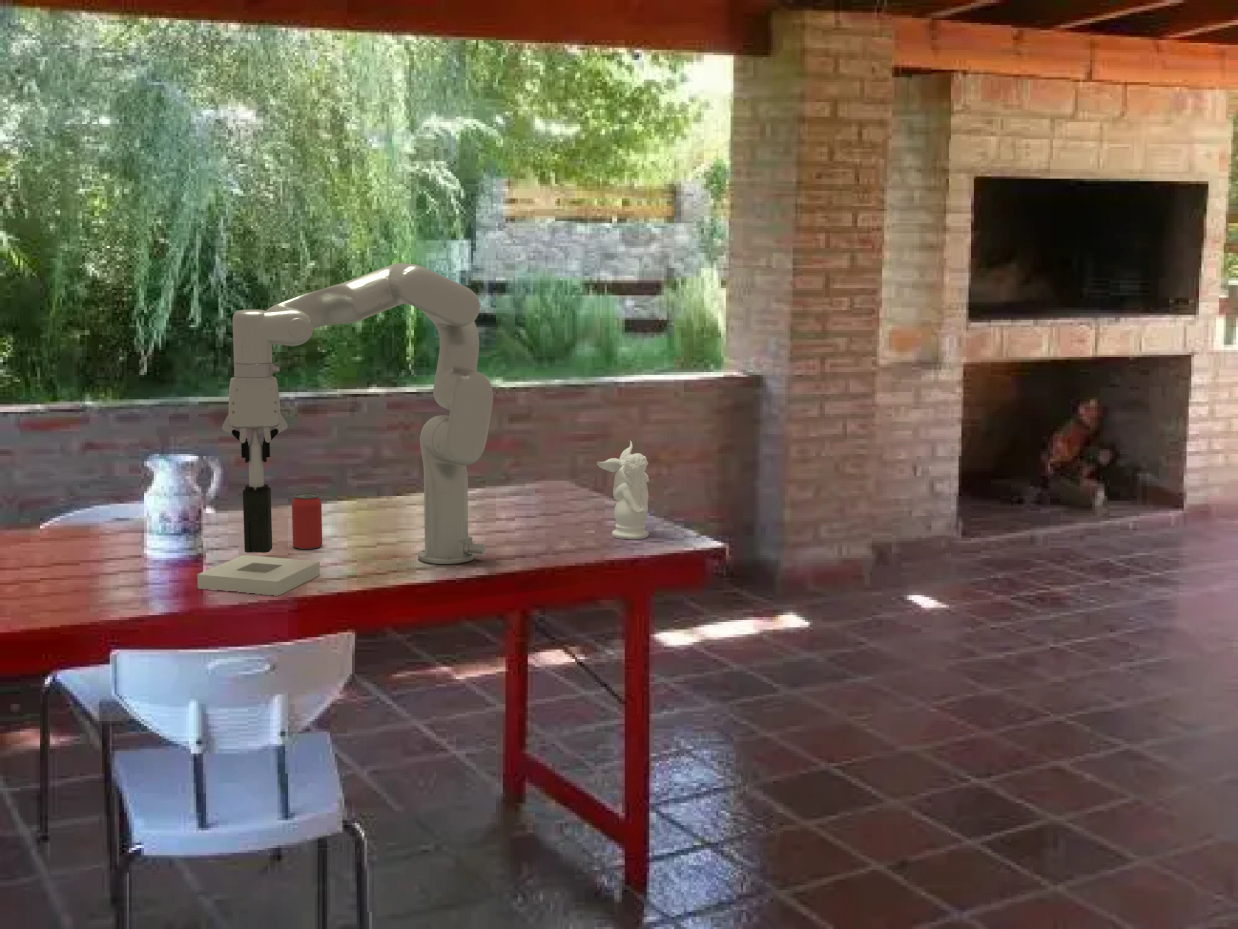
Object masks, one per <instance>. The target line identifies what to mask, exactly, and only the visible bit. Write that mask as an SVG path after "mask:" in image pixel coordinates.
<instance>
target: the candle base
mask: <svg viewBox="0 0 1238 929" xmlns="http://www.w3.org/2000/svg"><path fill="white" fill-rule="evenodd" d="M320 564H321V563H320V561H316V560H308V559H293V558H281V557H272V556H262V555H261V556H259V555H250V554H249V555H248V554H247V555H246V554H241V555H240V556H238V557H235V558H233V559H231V560H228V561H226V562H223V563H221V564H219V565H216V566H214V567H211V568H208V569H206V570H205V571H202V572H200V573H197V574H196V576H197V577H196V578H197V589H198V590H206V589H216V590H215V591H217V590H233V591H240V592H246V593H245V594H249V593H255V594H254V595H260V594H262V596H263V595H264V596H271V595H274V596H273V597H278V595H279V596H281V595H283V594H285V593H287V592H289V591H291V590H293V589H294V588H297V587H299V586H301V585H303V584H306V583H308V582H309V581H311V580H313V579H315V578H318V577H320V575H321V574H320V573H321V570H320V567H321V566H320Z"/></svg>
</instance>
